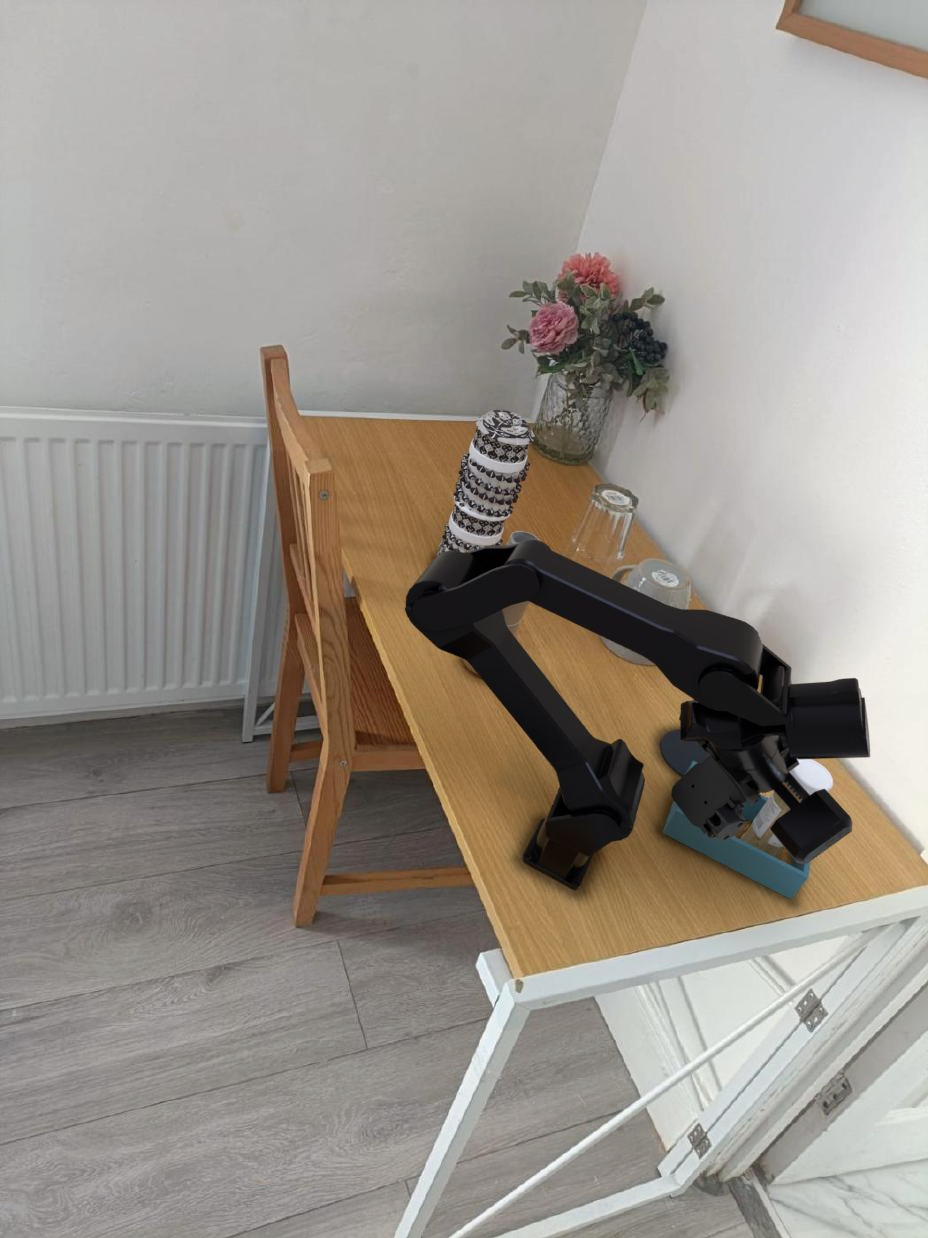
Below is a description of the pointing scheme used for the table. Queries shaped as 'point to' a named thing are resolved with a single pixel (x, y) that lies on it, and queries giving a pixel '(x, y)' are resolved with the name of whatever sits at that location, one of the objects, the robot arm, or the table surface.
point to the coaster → (680, 752)
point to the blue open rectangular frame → (739, 852)
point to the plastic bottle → (515, 611)
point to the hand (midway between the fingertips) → (774, 794)
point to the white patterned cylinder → (488, 482)
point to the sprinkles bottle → (760, 832)
